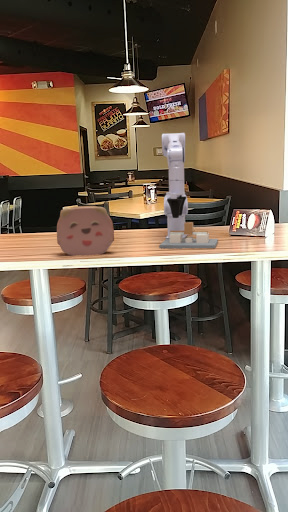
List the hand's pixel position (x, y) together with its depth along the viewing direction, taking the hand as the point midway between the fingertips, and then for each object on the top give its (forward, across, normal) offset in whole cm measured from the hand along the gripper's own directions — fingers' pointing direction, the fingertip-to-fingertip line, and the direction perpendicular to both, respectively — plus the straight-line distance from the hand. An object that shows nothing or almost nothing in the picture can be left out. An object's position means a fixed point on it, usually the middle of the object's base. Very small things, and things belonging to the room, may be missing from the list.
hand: (177, 216), depth 167 cm
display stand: (+10, +3, +5) cm, 12 cm away
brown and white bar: (+6, +3, +5) cm, 8 cm away
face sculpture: (+11, +21, -29) cm, 37 cm away
